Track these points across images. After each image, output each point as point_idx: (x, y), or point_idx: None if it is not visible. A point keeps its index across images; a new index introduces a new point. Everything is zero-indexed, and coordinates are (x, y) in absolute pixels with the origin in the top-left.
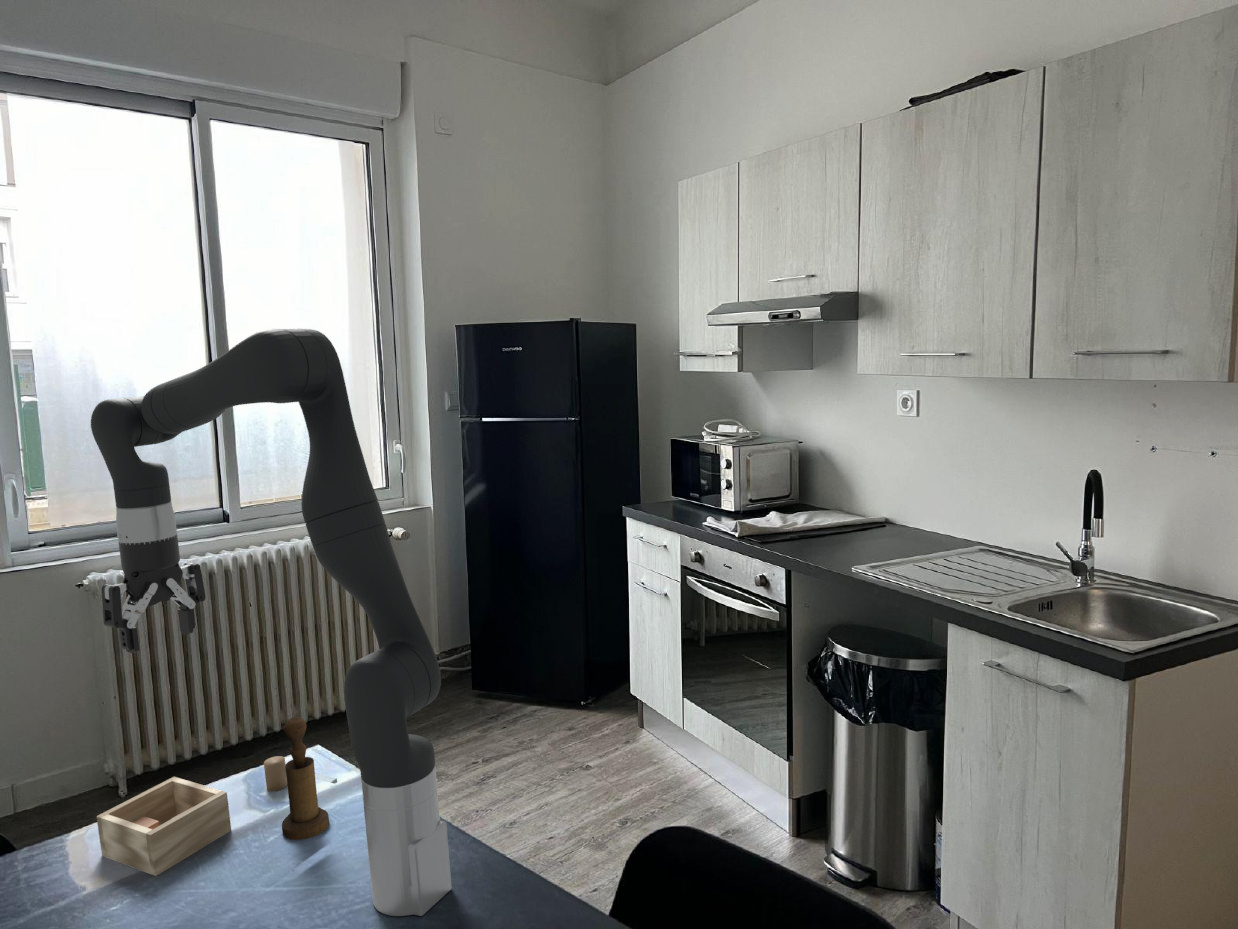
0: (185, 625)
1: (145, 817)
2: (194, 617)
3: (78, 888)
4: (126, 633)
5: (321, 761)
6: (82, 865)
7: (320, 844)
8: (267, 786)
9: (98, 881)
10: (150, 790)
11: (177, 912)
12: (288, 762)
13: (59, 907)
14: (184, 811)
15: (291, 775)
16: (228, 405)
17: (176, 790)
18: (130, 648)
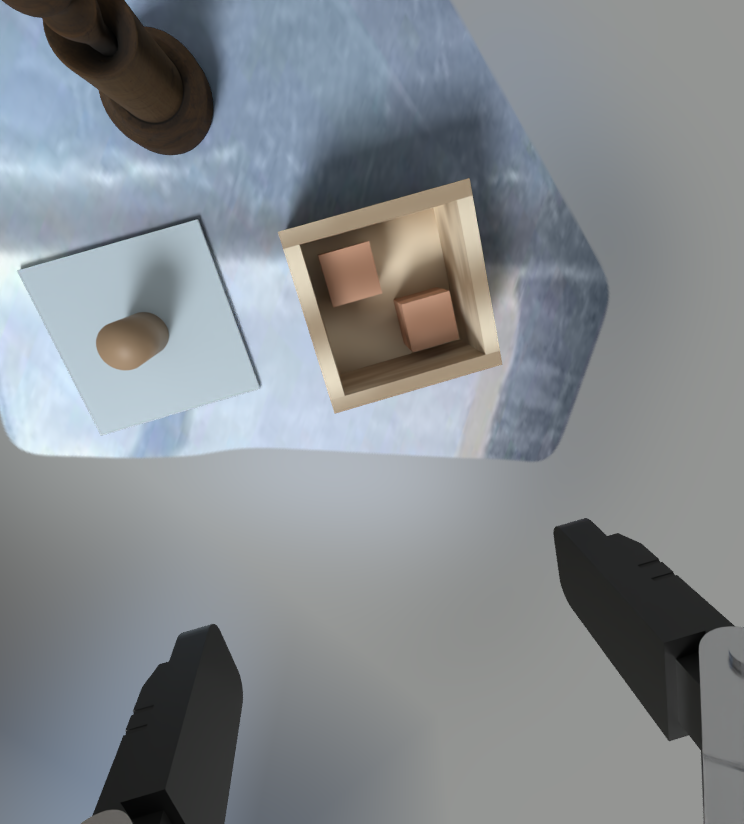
0: (213, 691)
1: (412, 343)
2: (123, 741)
3: (524, 293)
4: (718, 612)
5: (19, 388)
6: None
7: (155, 22)
8: (163, 335)
9: (497, 288)
10: (391, 389)
11: (455, 49)
12: (118, 68)
13: (562, 259)
14: (352, 300)
15: (136, 17)
16: None
17: (340, 380)
18: (618, 540)
